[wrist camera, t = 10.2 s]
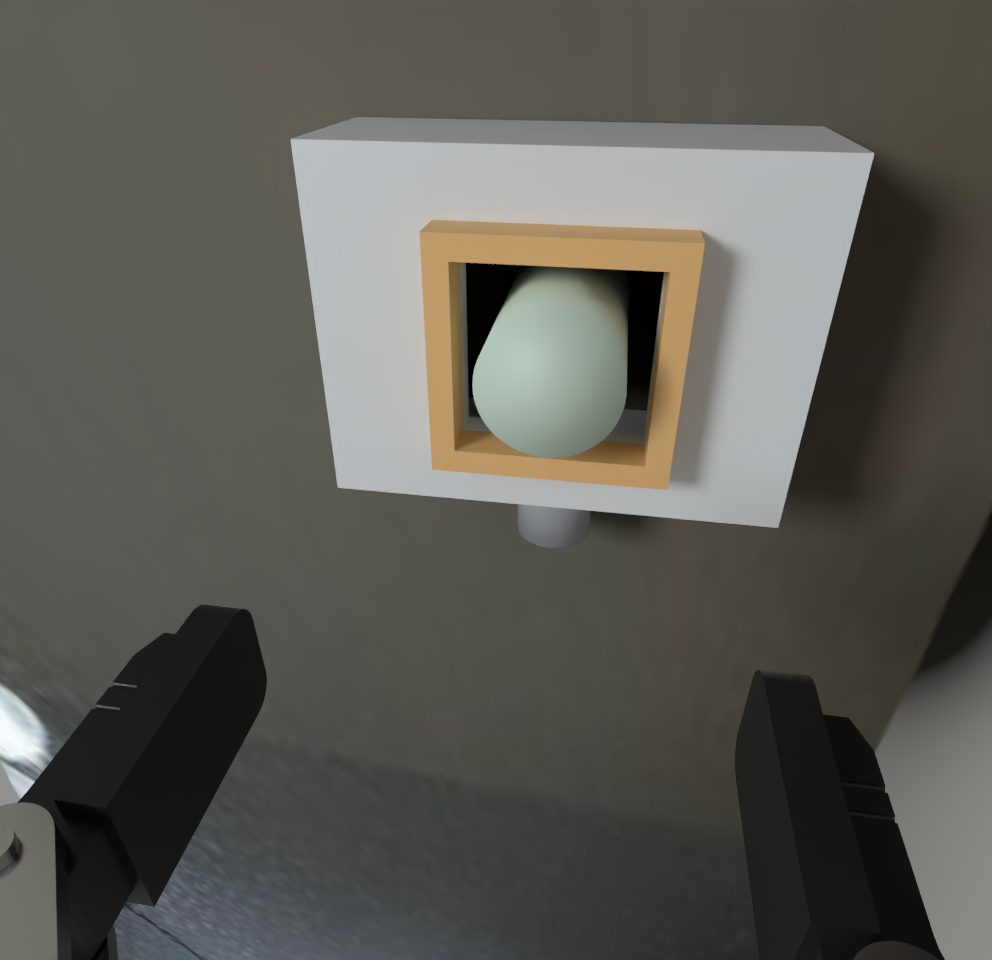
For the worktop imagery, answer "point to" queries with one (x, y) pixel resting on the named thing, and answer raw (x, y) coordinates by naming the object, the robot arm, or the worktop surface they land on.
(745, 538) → the worktop surface
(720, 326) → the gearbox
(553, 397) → the pale green rounded piece
